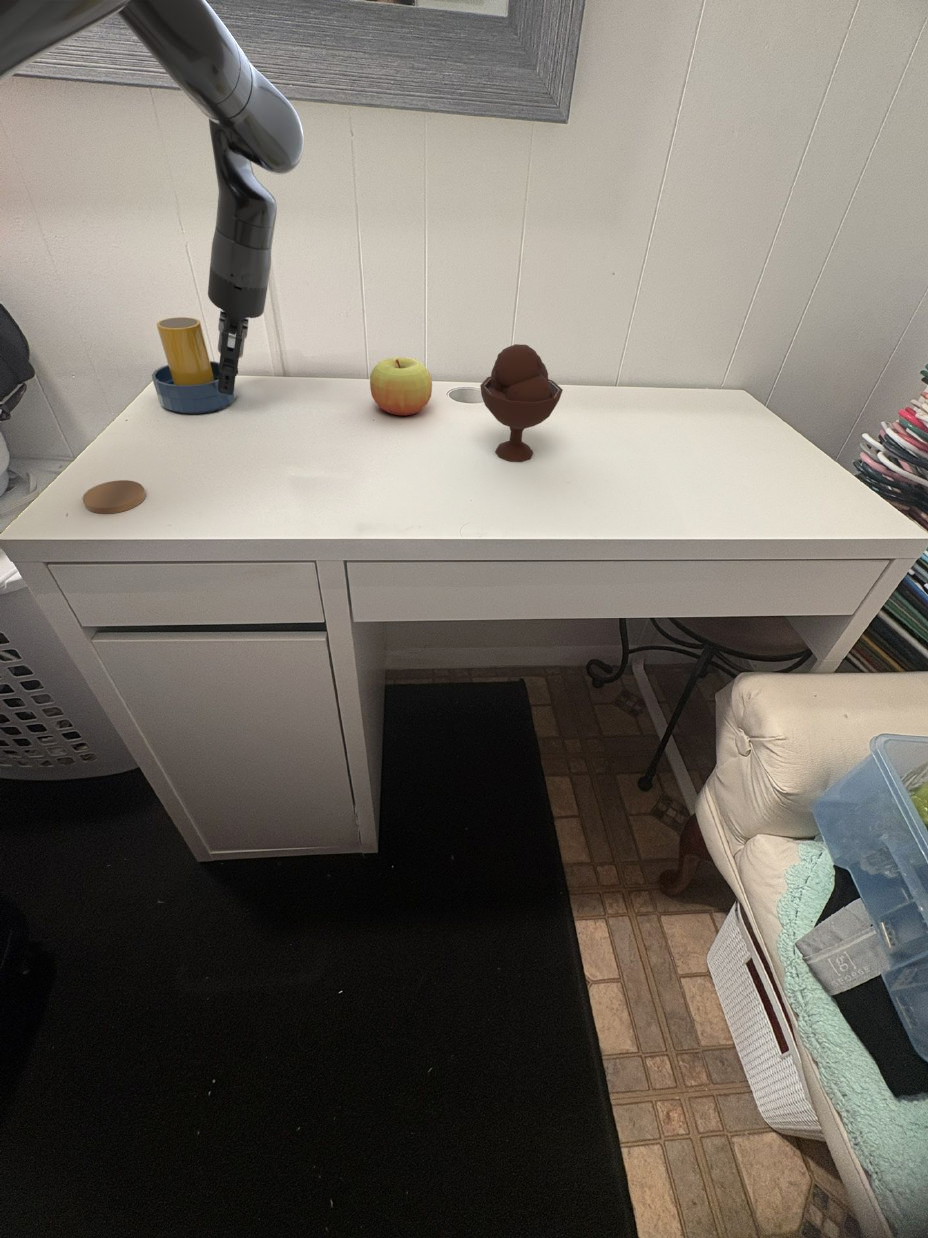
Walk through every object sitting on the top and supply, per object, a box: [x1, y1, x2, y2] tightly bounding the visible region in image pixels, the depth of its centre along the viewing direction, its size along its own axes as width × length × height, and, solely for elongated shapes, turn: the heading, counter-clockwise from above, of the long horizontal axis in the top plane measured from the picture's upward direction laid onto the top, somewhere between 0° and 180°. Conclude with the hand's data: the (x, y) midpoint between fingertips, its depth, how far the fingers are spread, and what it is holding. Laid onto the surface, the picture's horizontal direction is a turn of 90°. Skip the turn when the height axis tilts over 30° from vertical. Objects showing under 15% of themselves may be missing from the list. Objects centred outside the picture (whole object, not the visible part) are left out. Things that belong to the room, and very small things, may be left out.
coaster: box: [82, 479, 147, 515], centre depth 68 cm, size 7×7×1 cm
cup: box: [156, 316, 215, 385], centre depth 87 cm, size 6×6×11 cm
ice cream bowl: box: [480, 343, 564, 463], centre depth 77 cm, size 11×11×15 cm
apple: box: [369, 356, 433, 416], centre depth 90 cm, size 10×10×8 cm
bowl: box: [151, 360, 237, 415], centre depth 89 cm, size 11×11×4 cm
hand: (227, 378), depth 89 cm, fingers open, 8 cm apart
